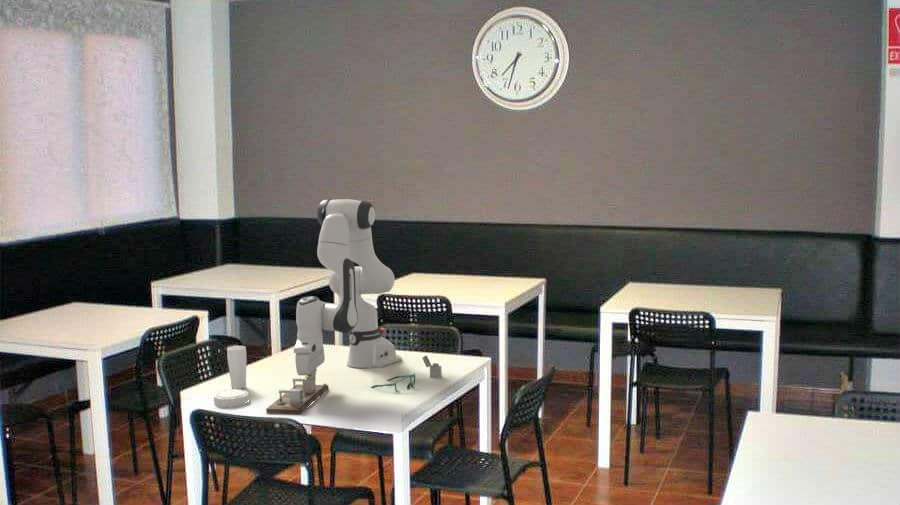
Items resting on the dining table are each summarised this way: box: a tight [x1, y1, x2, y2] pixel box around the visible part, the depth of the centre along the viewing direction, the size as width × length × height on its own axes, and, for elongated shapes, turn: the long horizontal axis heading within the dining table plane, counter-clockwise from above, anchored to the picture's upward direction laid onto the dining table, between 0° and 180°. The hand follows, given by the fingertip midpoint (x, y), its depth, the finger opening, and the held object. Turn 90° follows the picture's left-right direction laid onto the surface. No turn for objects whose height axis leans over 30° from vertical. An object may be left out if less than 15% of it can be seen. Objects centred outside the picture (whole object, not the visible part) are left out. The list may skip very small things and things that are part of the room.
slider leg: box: [292, 375, 317, 393], centre depth 348 cm, size 3×8×6 cm, turn 79°
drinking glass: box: [226, 345, 248, 389], centre depth 362 cm, size 7×7×15 cm
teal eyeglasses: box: [371, 373, 416, 393], centre depth 359 cm, size 14×15×5 cm
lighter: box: [421, 355, 443, 379], centre depth 369 cm, size 7×2×8 cm, turn 69°
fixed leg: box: [278, 383, 328, 409], centre depth 343 cm, size 28×9×5 cm, turn 169°
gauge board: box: [265, 383, 329, 415], centre depth 344 cm, size 30×12×2 cm, turn 169°
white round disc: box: [213, 388, 250, 408], centre depth 345 cm, size 12×12×4 cm
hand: (312, 381), depth 350 cm, fingers closed
